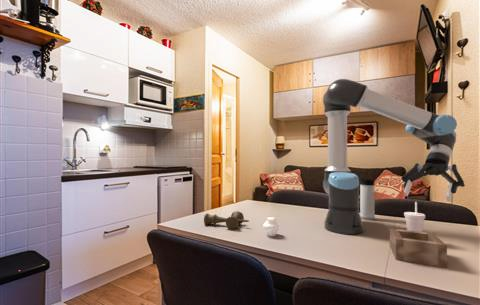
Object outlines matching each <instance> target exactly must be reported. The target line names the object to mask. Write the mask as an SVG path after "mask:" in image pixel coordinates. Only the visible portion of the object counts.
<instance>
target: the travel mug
mask: <svg viewBox="0 0 480 305" xmlns="http://www.w3.org/2000/svg"><path fill="white" fill-rule="evenodd" d="M359 180H360V181H359V192H360V193H359V208H360V210H359V214H360V217H361V220H365V221H366V220H367V221H374V220H375V215H376V214H375V202H376V201H375V200H376V199H375V194H376V193H375V180H374V179H369V178H363V177H360V178H359Z"/></svg>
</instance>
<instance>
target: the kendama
mask: <svg viewBox="0 0 480 305" xmlns="http://www.w3.org/2000/svg"><path fill="white" fill-rule="evenodd" d="M244 218H245V217H244V214H243V213H242V212H241V211H238V210H237V211H233V212H232V213H231V215H230V216H228V217H223V216H218V215H217V214H214V215H213V214H212V215H211V214H209V213H205V215H204V217H203V223H204V226H208V225H211V224H212V225H217V224H221V223H225V227H226V228H227V229H228V230H231V231H232V230H236V229H238V227H239V225H242V224H243V223H248V222H250V220H248V219H244Z"/></svg>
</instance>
